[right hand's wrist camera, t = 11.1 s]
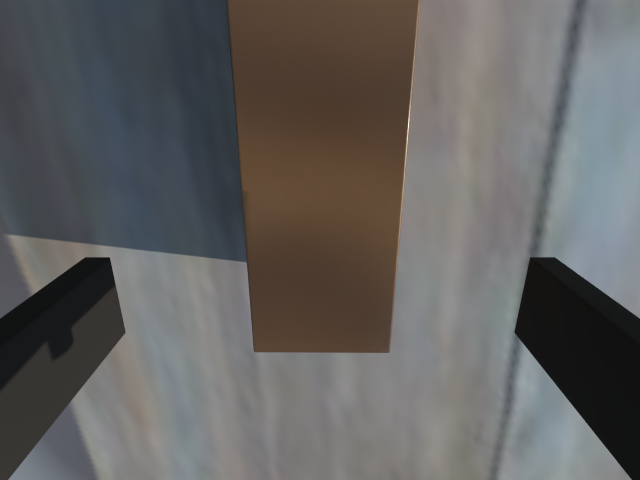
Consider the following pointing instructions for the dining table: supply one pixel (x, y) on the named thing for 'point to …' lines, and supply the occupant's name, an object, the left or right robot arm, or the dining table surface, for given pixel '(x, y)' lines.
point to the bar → (322, 165)
